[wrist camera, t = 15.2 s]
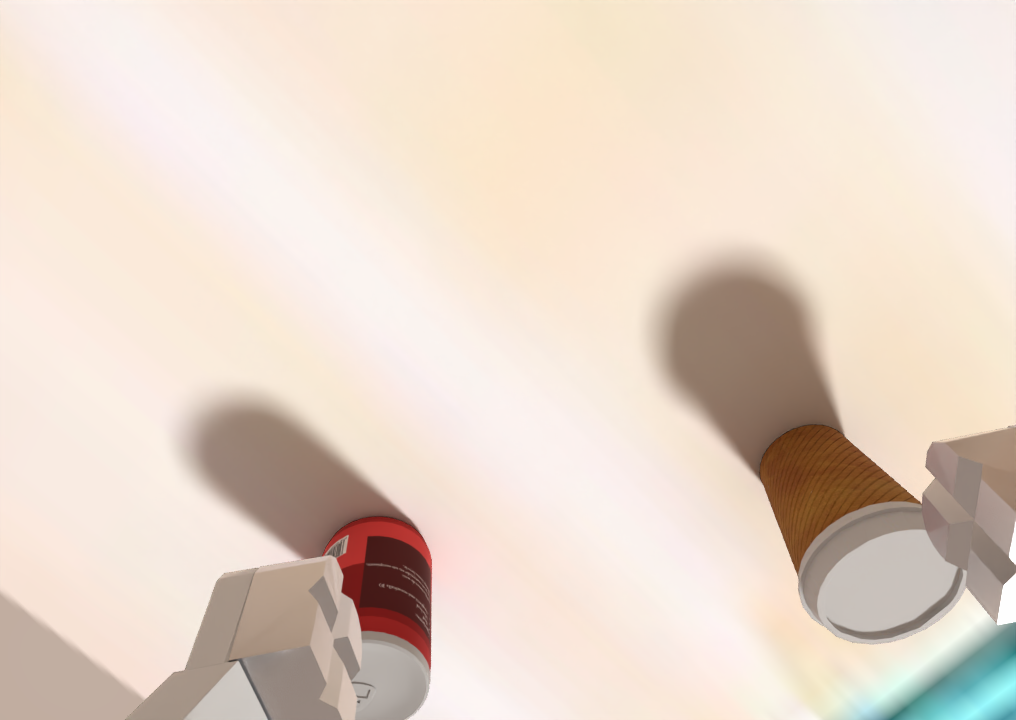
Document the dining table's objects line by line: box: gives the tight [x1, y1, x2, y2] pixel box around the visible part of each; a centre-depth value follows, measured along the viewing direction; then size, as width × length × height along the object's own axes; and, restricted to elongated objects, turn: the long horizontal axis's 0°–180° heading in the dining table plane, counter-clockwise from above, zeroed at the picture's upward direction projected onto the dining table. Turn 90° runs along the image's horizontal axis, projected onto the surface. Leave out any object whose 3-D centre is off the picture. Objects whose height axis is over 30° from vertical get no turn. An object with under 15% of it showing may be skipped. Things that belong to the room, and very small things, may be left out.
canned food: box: [322, 517, 432, 720], centre depth 50 cm, size 8×8×11 cm
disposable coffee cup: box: [760, 425, 967, 644], centre depth 48 cm, size 10×10×12 cm
